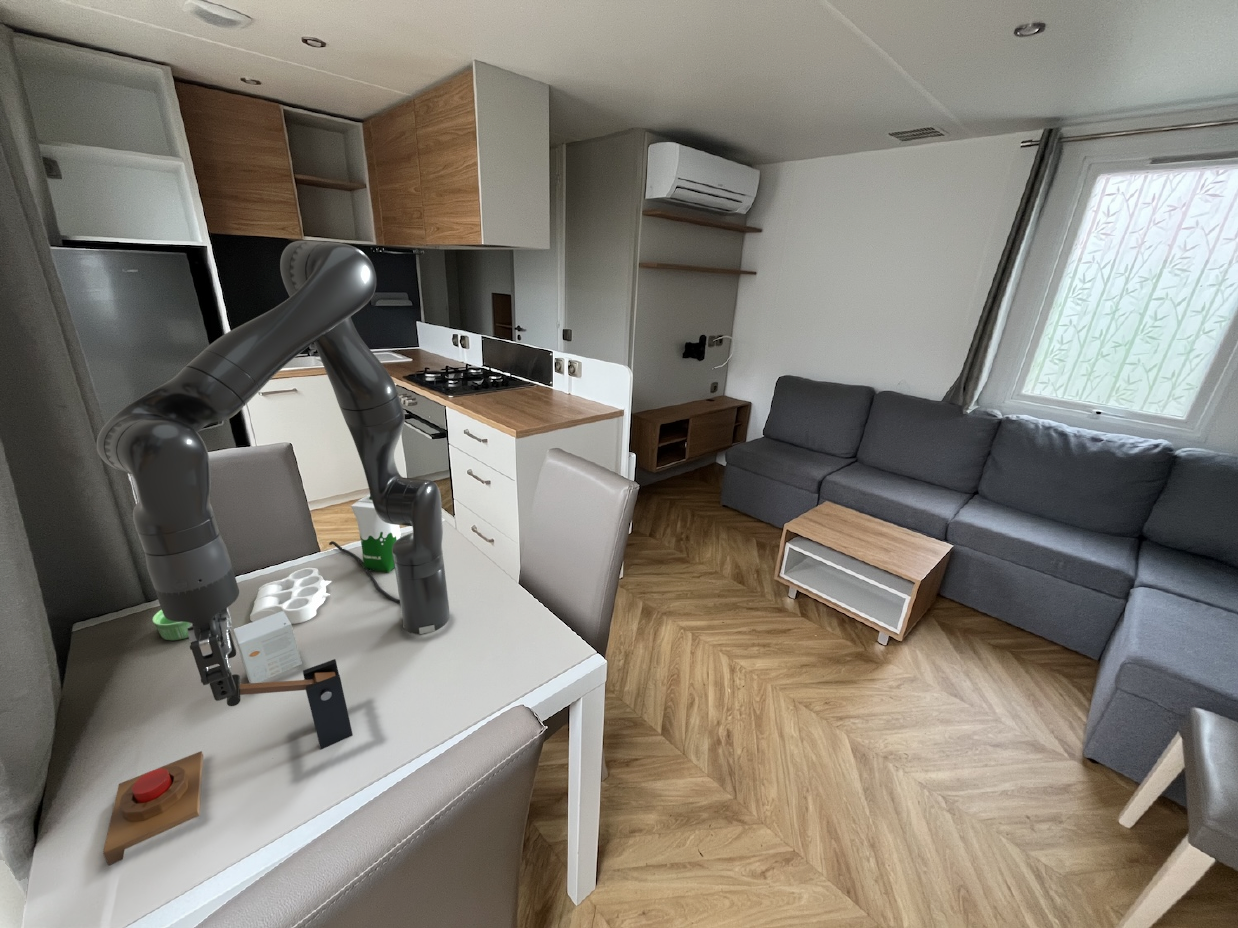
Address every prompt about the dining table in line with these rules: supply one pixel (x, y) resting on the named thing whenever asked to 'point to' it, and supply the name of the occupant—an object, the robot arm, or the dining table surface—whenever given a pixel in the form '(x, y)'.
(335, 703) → the bracket
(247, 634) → the small box
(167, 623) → the ramekin
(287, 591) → the white brass knuckles
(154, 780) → the button
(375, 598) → the dining table surface
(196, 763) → the button block
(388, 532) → the milk carton
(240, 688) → the lever
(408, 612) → the robot arm
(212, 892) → the dining table surface
